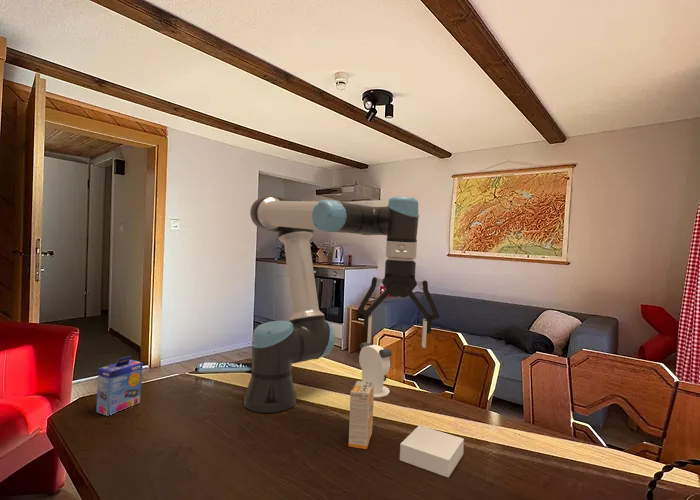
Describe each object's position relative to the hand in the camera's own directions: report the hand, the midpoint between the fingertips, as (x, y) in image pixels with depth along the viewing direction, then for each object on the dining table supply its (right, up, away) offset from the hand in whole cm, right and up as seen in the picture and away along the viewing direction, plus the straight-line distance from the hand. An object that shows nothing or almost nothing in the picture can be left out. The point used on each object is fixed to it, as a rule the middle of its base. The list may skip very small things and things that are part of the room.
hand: (396, 344), depth 94 cm
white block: (+7, -24, -9) cm, 26 cm away
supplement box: (-9, -23, -2) cm, 25 cm away
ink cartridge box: (-76, -21, +10) cm, 79 cm away
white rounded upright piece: (-4, -23, +30) cm, 38 cm away
